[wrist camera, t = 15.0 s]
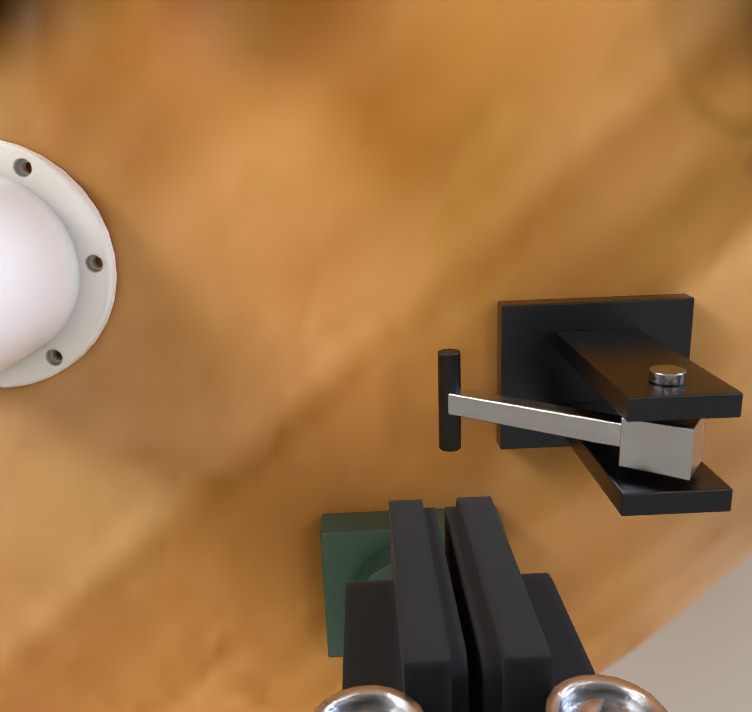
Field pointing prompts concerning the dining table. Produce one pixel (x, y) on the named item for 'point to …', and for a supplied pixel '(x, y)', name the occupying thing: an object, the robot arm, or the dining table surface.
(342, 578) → the button box
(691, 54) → the dining table surface
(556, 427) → the lever
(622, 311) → the bracket
